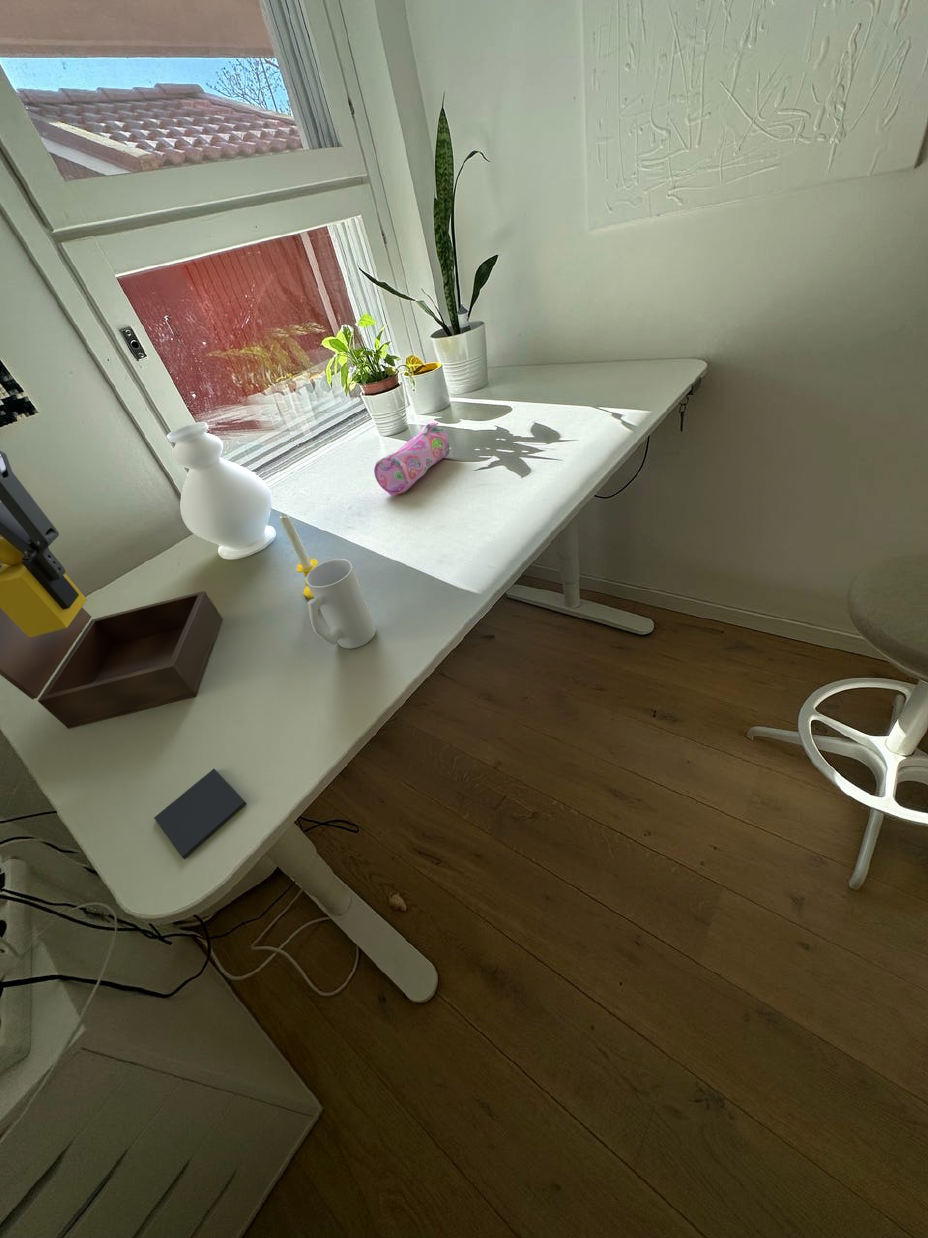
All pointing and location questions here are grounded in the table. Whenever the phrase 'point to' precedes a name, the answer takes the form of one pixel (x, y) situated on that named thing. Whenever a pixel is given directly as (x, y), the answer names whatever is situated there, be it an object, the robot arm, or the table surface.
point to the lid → (34, 652)
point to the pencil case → (412, 460)
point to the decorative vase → (221, 495)
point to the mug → (339, 604)
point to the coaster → (199, 812)
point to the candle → (299, 551)
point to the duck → (31, 597)
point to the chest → (135, 661)
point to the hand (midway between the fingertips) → (49, 607)
